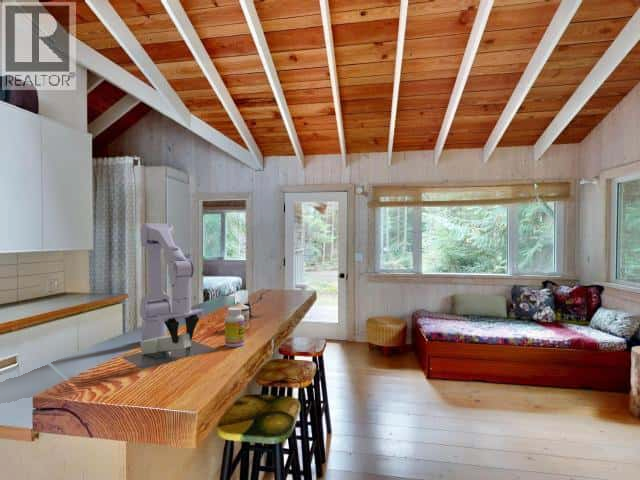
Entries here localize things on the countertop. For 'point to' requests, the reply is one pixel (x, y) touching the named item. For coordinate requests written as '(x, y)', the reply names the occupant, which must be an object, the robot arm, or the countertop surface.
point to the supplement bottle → (234, 328)
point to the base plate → (167, 355)
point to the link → (164, 344)
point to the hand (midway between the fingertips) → (182, 341)
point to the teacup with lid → (243, 313)
